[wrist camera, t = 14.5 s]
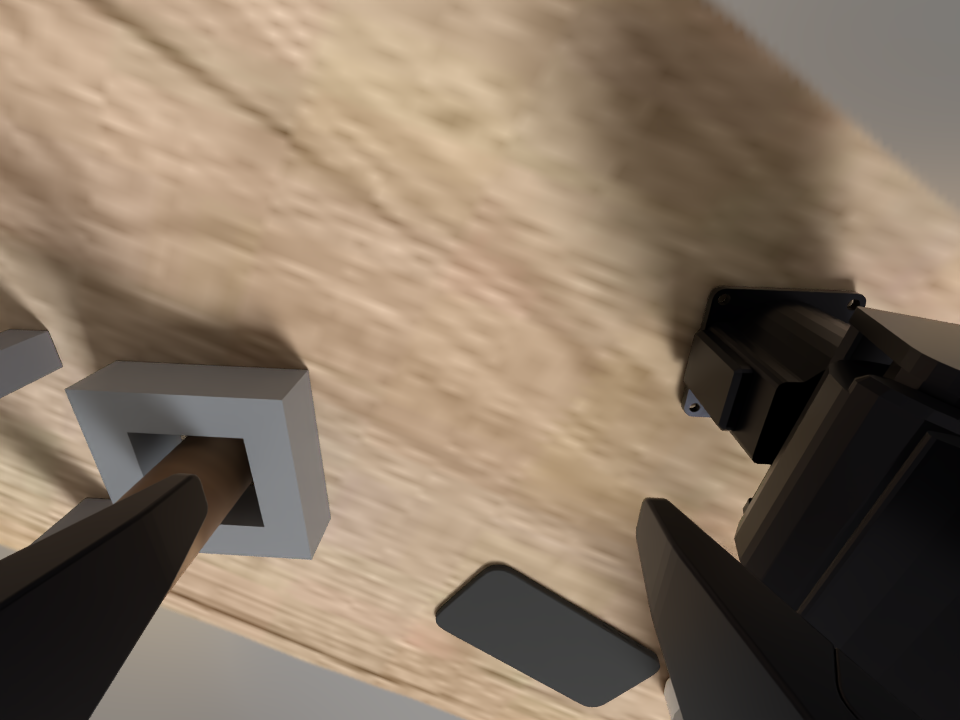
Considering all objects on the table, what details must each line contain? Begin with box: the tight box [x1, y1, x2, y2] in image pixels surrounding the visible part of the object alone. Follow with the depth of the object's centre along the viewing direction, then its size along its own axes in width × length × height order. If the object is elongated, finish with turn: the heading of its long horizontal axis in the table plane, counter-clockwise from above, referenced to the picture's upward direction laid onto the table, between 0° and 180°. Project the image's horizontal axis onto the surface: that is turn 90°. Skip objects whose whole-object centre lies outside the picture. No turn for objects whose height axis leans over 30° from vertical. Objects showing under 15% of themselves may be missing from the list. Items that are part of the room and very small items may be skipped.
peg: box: [115, 436, 253, 600], centre depth 19 cm, size 4×4×13 cm
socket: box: [65, 361, 331, 560], centre depth 24 cm, size 10×10×3 cm
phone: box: [436, 565, 660, 707], centre depth 31 cm, size 7×1×15 cm
